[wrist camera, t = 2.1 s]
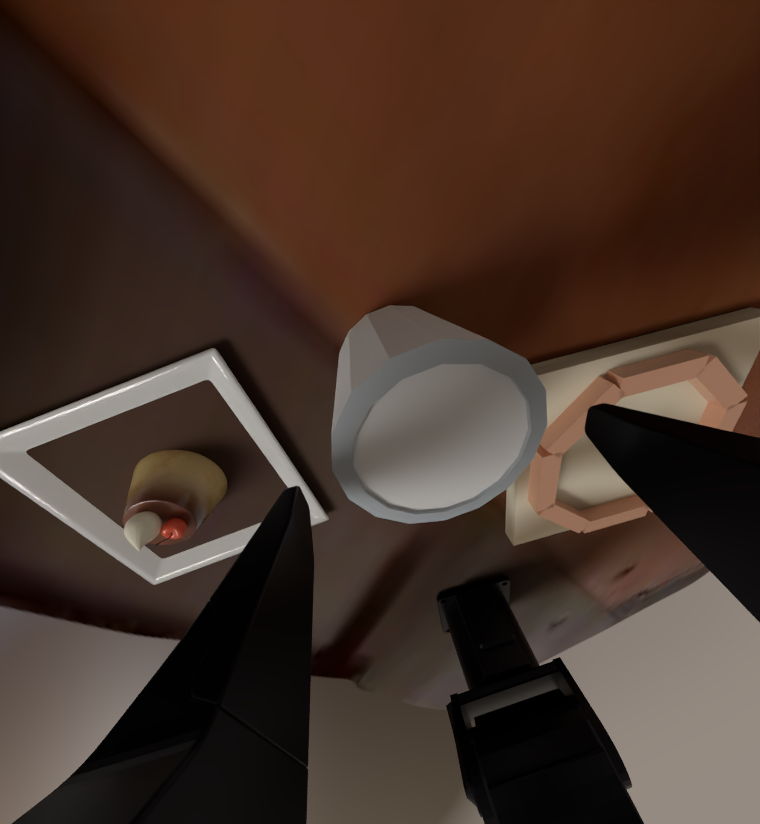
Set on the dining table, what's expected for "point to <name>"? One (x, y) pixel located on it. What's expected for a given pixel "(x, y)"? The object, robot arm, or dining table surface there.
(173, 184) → the dining table surface
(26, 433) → the dessert
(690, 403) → the serving board
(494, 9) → the dining table surface
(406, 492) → the shot glass
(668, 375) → the coaster ring
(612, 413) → the robot arm
